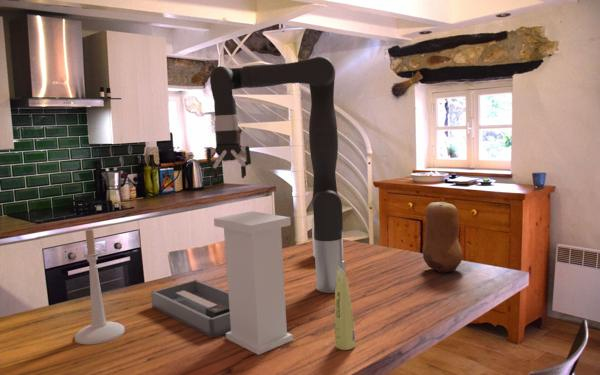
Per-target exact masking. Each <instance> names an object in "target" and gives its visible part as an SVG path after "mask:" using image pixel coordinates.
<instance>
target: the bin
mask: <svg viewBox="0 0 600 375" xmlns="http://www.w3.org/2000/svg"><path fill="white" fill-rule="evenodd" d="M183 290H184V291H187V292H189V293H191V294H194V295H196V296H198V297H200V298H203V299H205V300H207V301H210V302H212V303H214V304H217V305H219V304H222V305H224V306H226V307H229V295H228V290H224V289H221V288H219V287H216V286H214V285H211V284H208V283H206V282H203V281H201V280H198V279H193V280H189V281H185V282H182V283H179V284H174V285H170V286H168V287H167V286H166V287H164V288H161V289H160V288H159V289H156V290H152V291H150V294H151V295H150V296H151V305H152V306H151V307H152V308H153V309H155V310H157V311H159V312H161V313H163V314H165V315H166V316H169V317H170V318H173V320H176V321H179V322H180V323H182V324H183V325H186V326H187V327H190V329H191V328H192V329H193V330H195V331H197V332H199V333H201V334H203V335H205V336H206V337H208V338H210V339H214V338H216V337H220V336H222V335H226V333H227V332H230V331H231V324H230V312H228V313H225V314H222V315H219V316H216V317H213V318H211V317H208V316H206V315H204V314H202V313H200V312H198V311H196V310H194V309H191V308H189V307H187V306H185V305H183V304H181V303H179V302H176V294H175V293H176V292H180V291H183Z"/></svg>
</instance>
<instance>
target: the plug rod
mask: <svg viewBox="0 0 600 375" xmlns="http://www.w3.org/2000/svg"><path fill="white" fill-rule="evenodd" d="M175 294H176V302H179V303H181V304H183V305H185V306H187V307H189V308H191V309H194V310H196V311H198V312H200V313H202V314H204V315H206V316H208V317H211V318H213V317H216V316H219V315H222V314H225V313H228V312H230V309H229V307H226V306H224V305H222V304H219V305H217V304H214V303H212V302H210V301H207V300H205V299H203V298H200V297H198V296H196V295H194V294H191V293H189V292H187V291H184V290H183V291H180V292H176V293H175Z"/></svg>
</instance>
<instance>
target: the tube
mask: <svg viewBox="0 0 600 375" xmlns="http://www.w3.org/2000/svg"><path fill="white" fill-rule="evenodd" d="M346 276H347V275H346ZM346 276H345V273H344V272H343V271H342V270H341V269H340V267H339V266H338V269H337V274H336V288H335V293H334V294H335V295H334V345H335V348H336V349H338V350H342V351H347V350H352V349H354V348H355V346H356V338H355V324H354V313H353V307H352V299H351V298H352V297H351V292H350V286H349V284H348V283H349V282H348V280H347V277H346Z"/></svg>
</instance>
